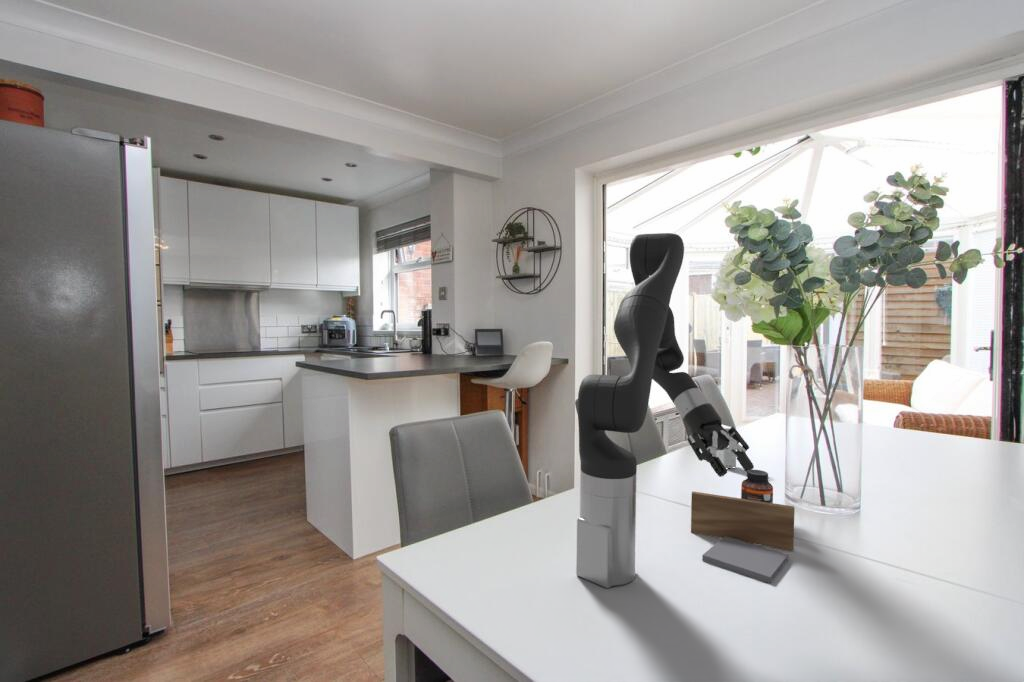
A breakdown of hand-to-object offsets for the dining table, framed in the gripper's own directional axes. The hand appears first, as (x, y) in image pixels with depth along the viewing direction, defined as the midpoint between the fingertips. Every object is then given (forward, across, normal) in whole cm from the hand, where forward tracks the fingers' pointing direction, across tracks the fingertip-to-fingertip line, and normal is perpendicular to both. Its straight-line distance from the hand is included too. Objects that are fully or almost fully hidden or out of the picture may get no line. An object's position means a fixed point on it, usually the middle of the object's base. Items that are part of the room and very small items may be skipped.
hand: (737, 472), depth 106 cm
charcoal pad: (+17, -16, -3) cm, 23 cm away
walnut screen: (+13, -9, +1) cm, 16 cm away
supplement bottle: (+10, 0, +4) cm, 11 cm away
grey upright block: (-13, +30, +27) cm, 43 cm away
